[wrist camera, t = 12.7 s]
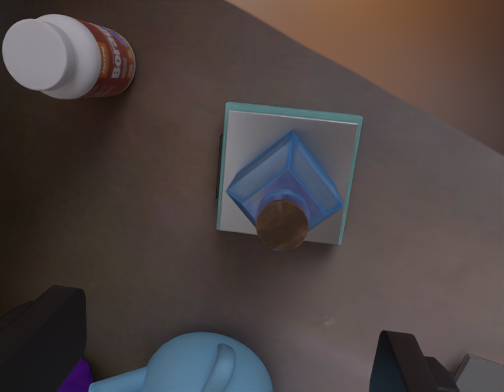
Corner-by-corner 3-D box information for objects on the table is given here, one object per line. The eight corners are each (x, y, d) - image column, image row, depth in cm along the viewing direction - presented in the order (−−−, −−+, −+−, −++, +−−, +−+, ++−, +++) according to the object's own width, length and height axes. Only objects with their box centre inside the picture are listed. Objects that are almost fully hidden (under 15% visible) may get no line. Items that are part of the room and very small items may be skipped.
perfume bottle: (279, 225, 37) (273, 291, 26) (236, 173, 36) (209, 216, 25) (335, 185, 35) (355, 236, 24) (292, 129, 35) (291, 154, 23)
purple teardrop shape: (-30, 337, 44) (91, 401, 43) (5, 314, 49) (115, 371, 47) (-38, 371, 45) (79, 433, 44) (-3, 345, 50) (103, 401, 49)
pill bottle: (149, 80, 38) (93, 80, 28) (94, 106, 40) (21, 116, 29) (118, 15, 37) (48, -11, 26) (62, 44, 38) (-26, 30, 28)
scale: (226, 101, 38) (220, 102, 35) (358, 114, 37) (364, 117, 34) (217, 220, 42) (211, 231, 39) (338, 235, 41) (342, 248, 38)
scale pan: (229, 109, 35) (228, 110, 35) (357, 123, 34) (358, 123, 34) (220, 228, 38) (219, 230, 38) (337, 242, 38) (338, 245, 37)
